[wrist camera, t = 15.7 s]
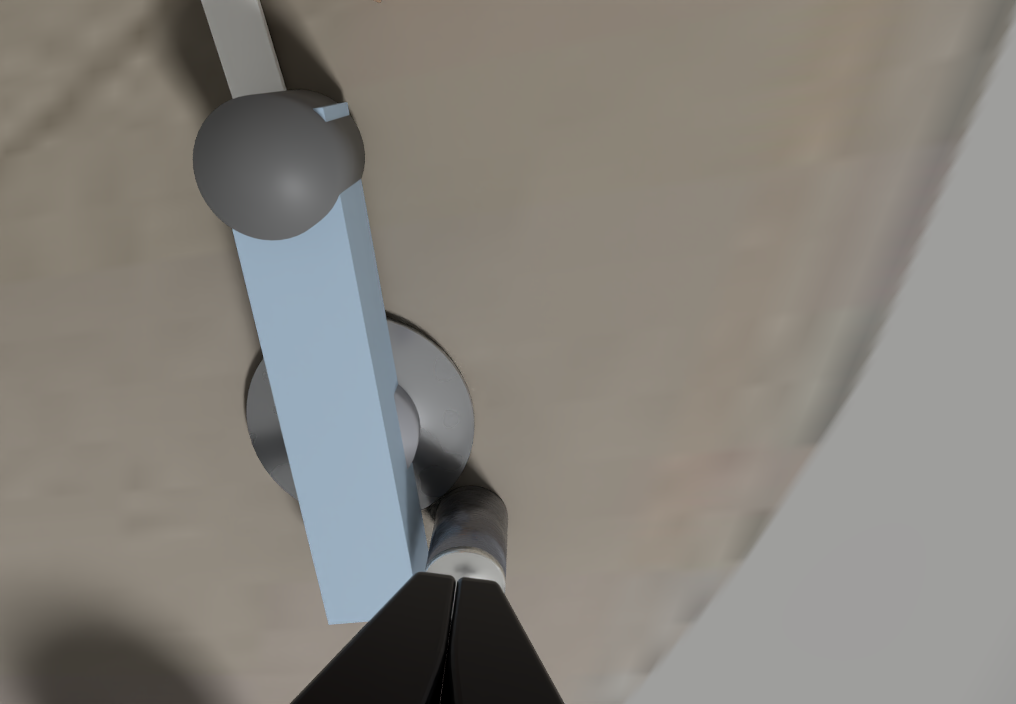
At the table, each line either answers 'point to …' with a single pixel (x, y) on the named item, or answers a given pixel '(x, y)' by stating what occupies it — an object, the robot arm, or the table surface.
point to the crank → (321, 335)
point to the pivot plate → (432, 393)
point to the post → (470, 536)
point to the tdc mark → (244, 46)
